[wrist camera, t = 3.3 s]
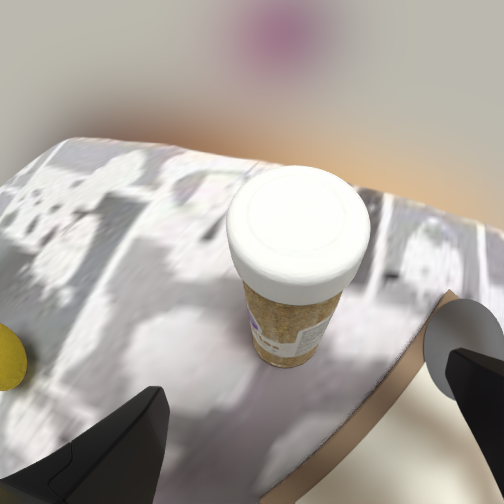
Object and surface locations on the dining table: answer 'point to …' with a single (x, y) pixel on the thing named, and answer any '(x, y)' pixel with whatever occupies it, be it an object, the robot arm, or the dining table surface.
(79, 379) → the dining table surface
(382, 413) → the beige tray
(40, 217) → the dining table surface
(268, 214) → the sprinkles bottle
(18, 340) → the lemon
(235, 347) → the dining table surface
